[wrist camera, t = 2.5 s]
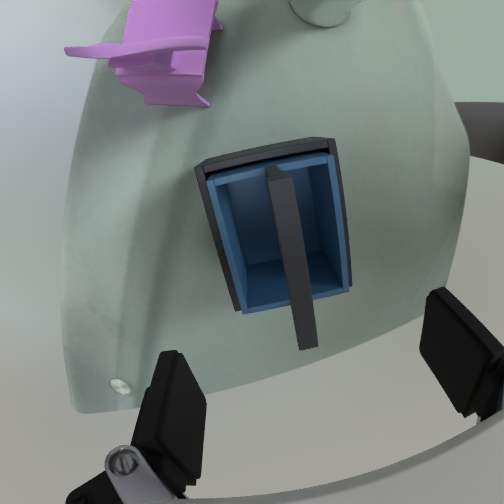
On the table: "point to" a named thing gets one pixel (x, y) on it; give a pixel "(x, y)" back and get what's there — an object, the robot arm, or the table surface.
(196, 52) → the toy chair
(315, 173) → the blue bin
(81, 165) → the table surface
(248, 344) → the table surface
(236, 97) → the table surface
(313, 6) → the beer glass
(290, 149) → the charcoal bin
